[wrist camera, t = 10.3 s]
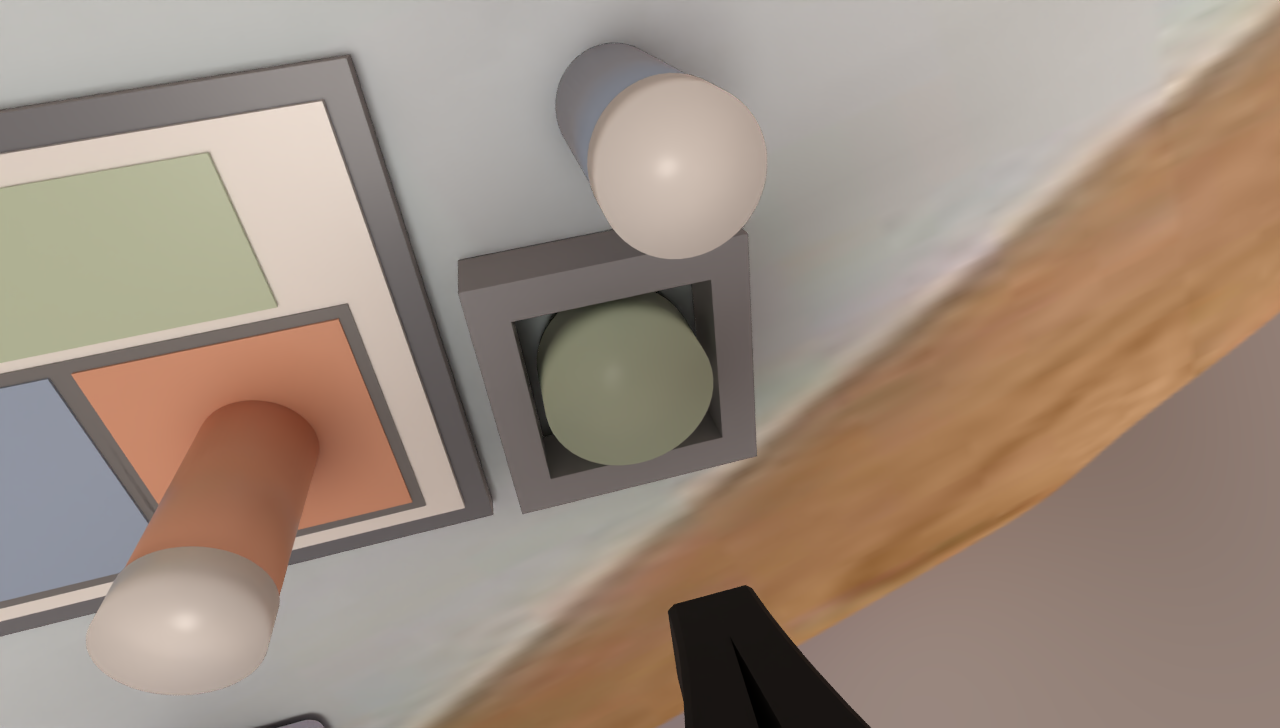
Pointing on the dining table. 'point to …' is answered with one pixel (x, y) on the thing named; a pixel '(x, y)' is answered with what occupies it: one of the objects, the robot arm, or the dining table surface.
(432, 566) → the dining table surface
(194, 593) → the terracotta marker
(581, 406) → the button
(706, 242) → the slate blue marker
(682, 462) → the button collar
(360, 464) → the colour zone board
